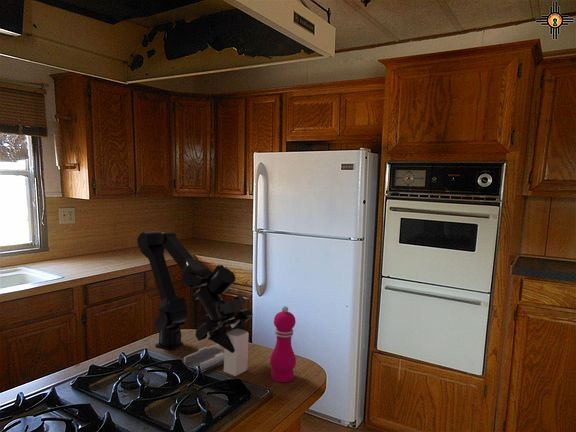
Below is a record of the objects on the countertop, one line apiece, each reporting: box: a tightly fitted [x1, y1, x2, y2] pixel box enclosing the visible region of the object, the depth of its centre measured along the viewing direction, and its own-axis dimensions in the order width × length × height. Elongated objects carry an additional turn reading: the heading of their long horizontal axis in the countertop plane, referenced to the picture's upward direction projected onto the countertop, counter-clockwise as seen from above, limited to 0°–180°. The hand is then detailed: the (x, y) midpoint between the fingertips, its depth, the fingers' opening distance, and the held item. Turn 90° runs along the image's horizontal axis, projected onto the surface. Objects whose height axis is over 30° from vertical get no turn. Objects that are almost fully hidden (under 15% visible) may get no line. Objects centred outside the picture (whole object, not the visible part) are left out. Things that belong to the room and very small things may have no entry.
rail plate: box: [182, 343, 224, 371], centre depth 117 cm, size 8×14×3 cm, turn 145°
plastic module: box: [223, 328, 249, 377], centre depth 112 cm, size 4×5×11 cm
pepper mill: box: [269, 305, 297, 383], centre depth 108 cm, size 7×7×20 cm
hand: (240, 349), depth 111 cm, fingers closed on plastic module, 5 cm apart
